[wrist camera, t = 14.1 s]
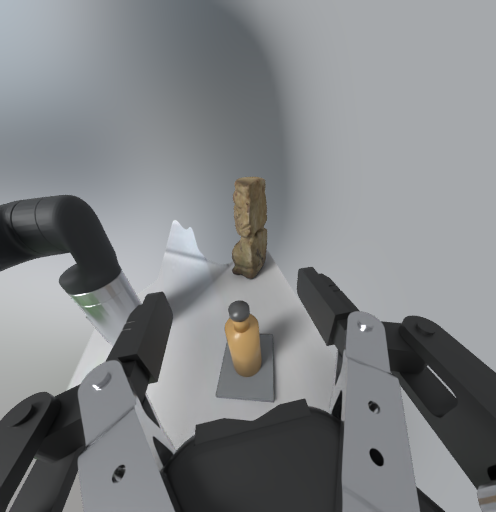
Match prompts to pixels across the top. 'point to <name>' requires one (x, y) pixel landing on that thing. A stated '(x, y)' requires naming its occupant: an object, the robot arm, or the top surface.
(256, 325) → the bottle
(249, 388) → the mat
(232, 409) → the top surface
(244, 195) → the sculpture
